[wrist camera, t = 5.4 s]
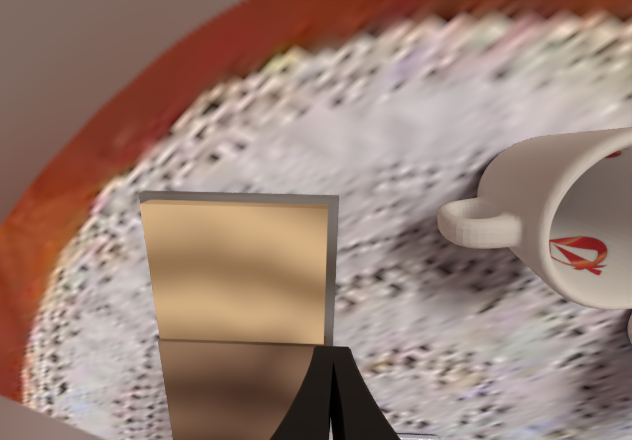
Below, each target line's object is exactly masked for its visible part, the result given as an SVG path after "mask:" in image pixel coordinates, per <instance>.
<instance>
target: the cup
mask: <svg viewBox="0 0 632 440" xmlns="http://www.w3.org/2000/svg"><path fill="white" fill-rule="evenodd" d="M437 223H438V228H439V230H440V232H441V234H442V235H443V236H444V237H445V238H446V239H447V240H449V241H450V242H452V243H454V244H457V245H459V246H463V247H467V248H476V249H492V248H504V247H508V248H509V249H510V250H511V251H512V252H513V253H514V254H515V255H516V256H517V257H518V258H520V259H521V260H522V261H523V262H524V263H525V264H526V265H527V266H528V267H529V268H530V269H531V270H532V271H533V272H535V273H536V274H537V275H538V276H539V277H540V278H541V279H542V280H543V281H544V282H545V283H546V284H547V285H548V286H550V287H551V288H552V289H553V290H554V291H556V292H557V293H558V294H560V295H561V296H563V297H564V298H566V299H568V300H570V301H572V302H574V303H577V304H579V305H582V306H586V307H590V308H595V309H603V310H625V309H631V308H632V127H629V128H618V129H608V130H598V131H587V132H577V133H567V134H556V135H547V136H540V137H535V138H530V139H527V140H524V141H521V142H519V143H516V144H514V145H512V146H511V147H509V148H507V149H506V150H504V151H503V152H501V153H500V154H499V155H498V156H497V157H496V158H495V159H494V160H493V161H492V162H491V163H490V164H489V166H488V167H487V168H486V170H485V172H484V173H483V175H482V177H481V180H480V183H479V187H478V192H477V198H472V199H464V200H459V201H453V202H450V203H446V204H445V205H443V206H441V207H440V208H439V211H438V213H437Z"/></svg>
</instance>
